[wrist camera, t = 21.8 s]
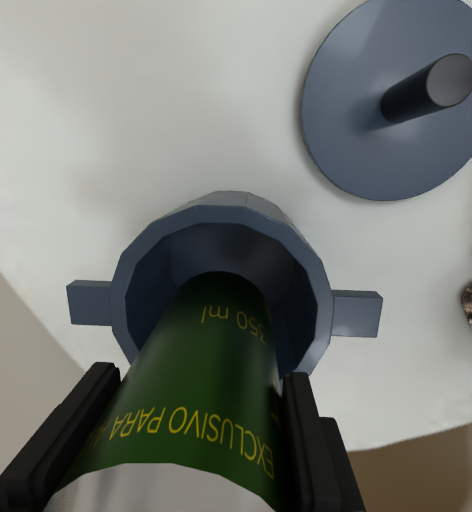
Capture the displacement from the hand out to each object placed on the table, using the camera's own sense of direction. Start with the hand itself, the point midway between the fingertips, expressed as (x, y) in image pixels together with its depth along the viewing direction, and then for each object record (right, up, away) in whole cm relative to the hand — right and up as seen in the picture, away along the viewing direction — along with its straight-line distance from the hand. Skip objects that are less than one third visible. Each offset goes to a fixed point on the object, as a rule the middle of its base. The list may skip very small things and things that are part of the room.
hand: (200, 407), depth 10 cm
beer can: (0, +2, +7) cm, 7 cm away
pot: (+1, +4, +15) cm, 16 cm away
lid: (+12, +15, +11) cm, 22 cm away
